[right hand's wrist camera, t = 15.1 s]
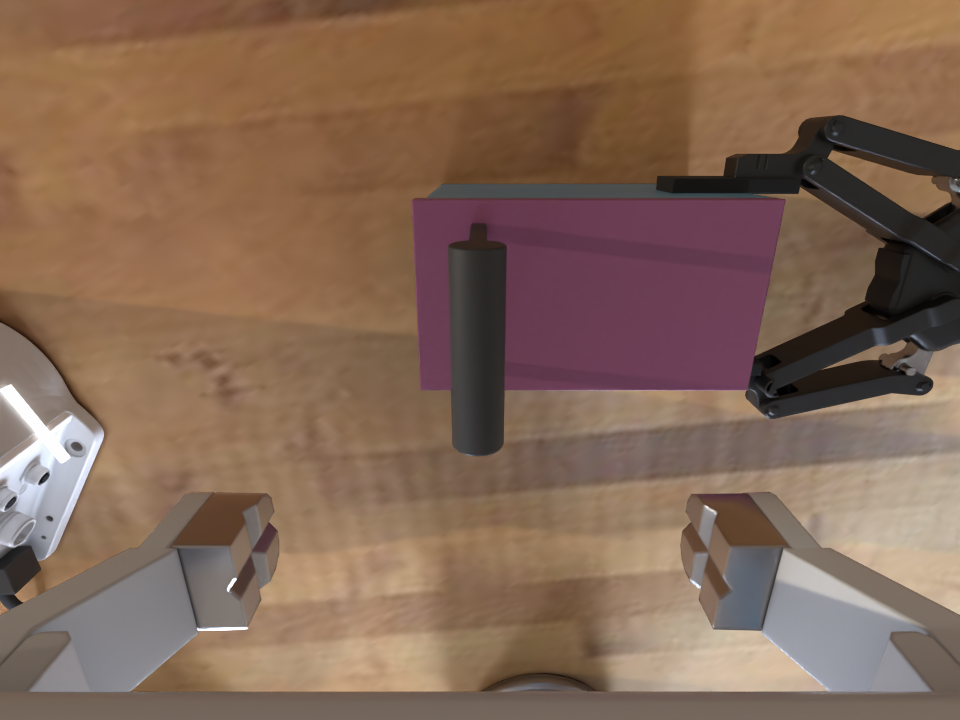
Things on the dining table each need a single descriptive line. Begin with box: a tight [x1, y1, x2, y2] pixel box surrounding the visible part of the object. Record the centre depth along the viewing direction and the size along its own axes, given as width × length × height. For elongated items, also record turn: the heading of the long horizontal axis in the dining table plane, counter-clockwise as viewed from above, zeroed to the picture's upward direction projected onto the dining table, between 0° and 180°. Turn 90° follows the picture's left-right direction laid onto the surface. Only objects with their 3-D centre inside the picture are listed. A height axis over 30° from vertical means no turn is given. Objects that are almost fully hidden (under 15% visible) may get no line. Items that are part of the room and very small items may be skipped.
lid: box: [412, 198, 785, 456], centre depth 23 cm, size 17×10×9 cm, turn 90°
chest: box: [427, 184, 772, 198], centre depth 32 cm, size 16×10×11 cm, turn 90°
